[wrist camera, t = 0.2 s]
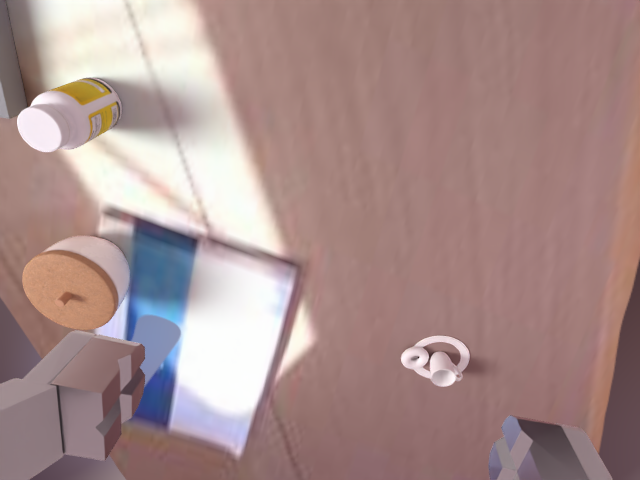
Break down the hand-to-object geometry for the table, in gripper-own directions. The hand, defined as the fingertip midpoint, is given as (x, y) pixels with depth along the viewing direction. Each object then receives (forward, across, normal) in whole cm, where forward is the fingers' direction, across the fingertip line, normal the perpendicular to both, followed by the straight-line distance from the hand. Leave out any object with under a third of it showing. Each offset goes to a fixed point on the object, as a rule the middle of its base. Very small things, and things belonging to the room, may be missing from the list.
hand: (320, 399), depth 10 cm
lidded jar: (+42, +28, +23) cm, 55 cm away
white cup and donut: (+42, -16, +27) cm, 53 cm away
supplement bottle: (+39, +27, +3) cm, 48 cm away
